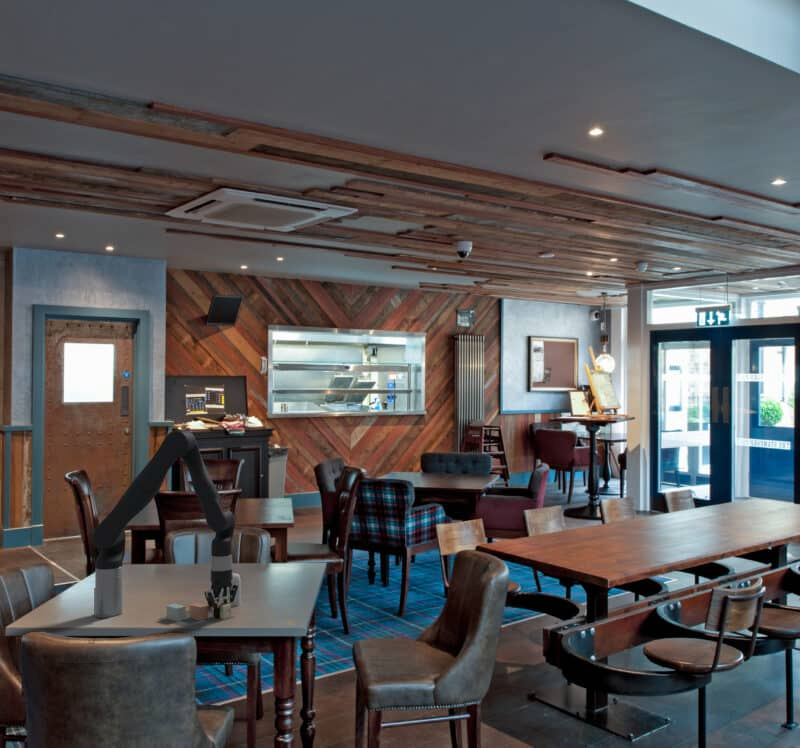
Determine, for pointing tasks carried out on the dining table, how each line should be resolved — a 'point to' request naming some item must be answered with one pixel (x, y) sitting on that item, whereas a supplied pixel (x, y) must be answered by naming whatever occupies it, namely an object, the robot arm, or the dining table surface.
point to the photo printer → (237, 581)
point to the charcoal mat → (195, 621)
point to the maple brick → (223, 610)
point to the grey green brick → (175, 612)
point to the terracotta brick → (198, 611)
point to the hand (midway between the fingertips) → (221, 616)
